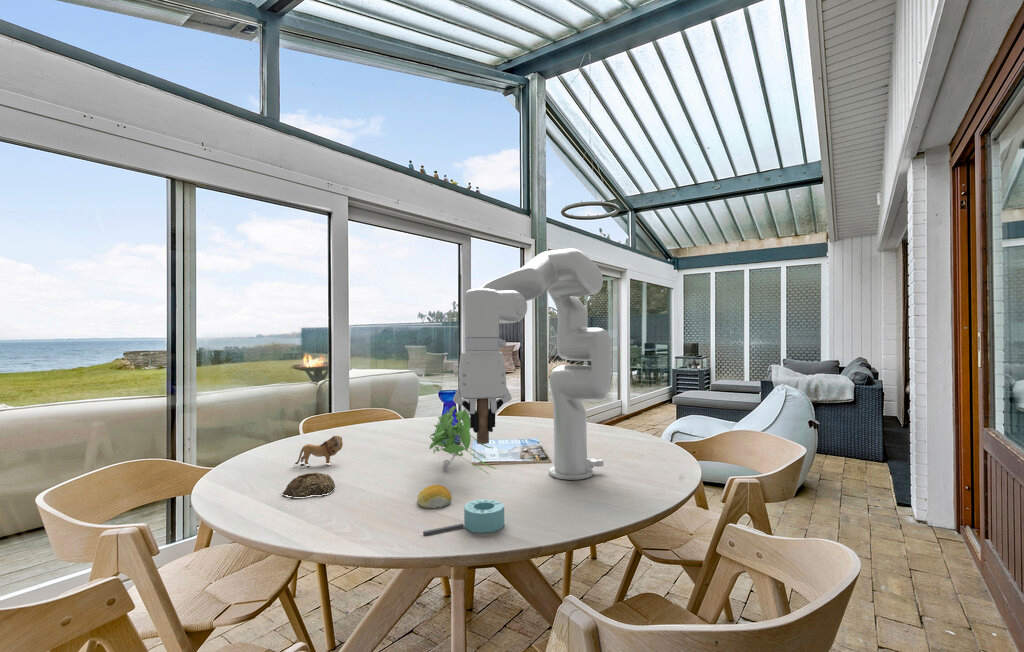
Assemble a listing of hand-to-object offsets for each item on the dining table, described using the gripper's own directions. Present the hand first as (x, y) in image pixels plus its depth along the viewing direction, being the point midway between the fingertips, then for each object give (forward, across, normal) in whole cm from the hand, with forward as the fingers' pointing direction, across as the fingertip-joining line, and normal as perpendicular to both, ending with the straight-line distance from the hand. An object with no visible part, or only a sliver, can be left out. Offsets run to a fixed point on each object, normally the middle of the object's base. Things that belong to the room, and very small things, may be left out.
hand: (482, 430), depth 105 cm
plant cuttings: (+20, 0, -44) cm, 49 cm away
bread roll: (+21, +10, -17) cm, 29 cm away
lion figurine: (+21, +44, -61) cm, 77 cm away
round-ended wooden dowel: (+3, 0, 0) cm, 3 cm away
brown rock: (+21, +42, -34) cm, 58 cm away
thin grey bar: (+20, +9, +1) cm, 22 cm away
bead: (+20, 0, 0) cm, 20 cm away
